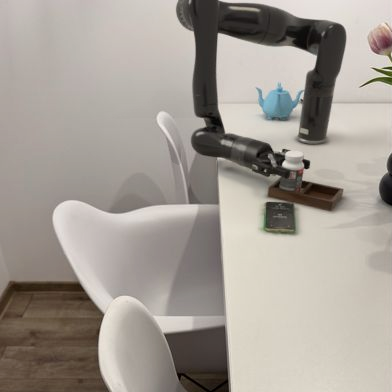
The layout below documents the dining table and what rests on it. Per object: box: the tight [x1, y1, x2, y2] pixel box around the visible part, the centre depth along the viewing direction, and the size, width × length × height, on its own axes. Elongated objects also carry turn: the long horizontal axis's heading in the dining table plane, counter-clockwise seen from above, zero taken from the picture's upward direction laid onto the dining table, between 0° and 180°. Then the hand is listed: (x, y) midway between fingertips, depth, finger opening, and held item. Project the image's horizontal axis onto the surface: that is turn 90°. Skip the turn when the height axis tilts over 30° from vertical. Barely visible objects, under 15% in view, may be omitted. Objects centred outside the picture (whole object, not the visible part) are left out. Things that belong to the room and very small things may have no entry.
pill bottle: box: [279, 150, 305, 193], centre depth 126 cm, size 6×6×10 cm
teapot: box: [254, 81, 304, 121], centre depth 178 cm, size 13×13×10 cm
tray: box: [267, 176, 345, 212], centre depth 127 cm, size 9×17×2 cm, turn 60°
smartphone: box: [263, 201, 297, 234], centre depth 118 cm, size 8×1×15 cm
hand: (299, 169), depth 124 cm, fingers open, 8 cm apart
